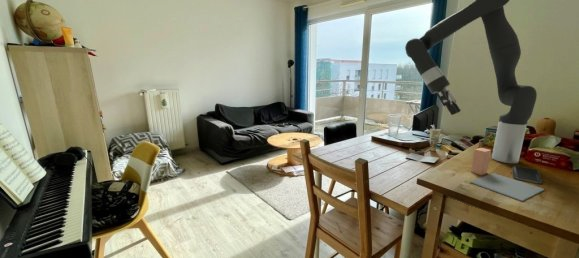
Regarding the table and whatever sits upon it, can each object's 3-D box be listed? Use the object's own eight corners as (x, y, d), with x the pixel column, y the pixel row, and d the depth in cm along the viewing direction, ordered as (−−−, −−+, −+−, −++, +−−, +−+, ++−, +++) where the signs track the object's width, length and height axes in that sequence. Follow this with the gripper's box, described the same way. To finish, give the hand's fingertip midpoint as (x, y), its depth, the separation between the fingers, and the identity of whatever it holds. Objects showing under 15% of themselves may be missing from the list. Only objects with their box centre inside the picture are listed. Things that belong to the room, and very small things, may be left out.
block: (477, 169, 102) (481, 147, 100) (486, 172, 99) (491, 150, 97) (470, 171, 100) (474, 149, 98) (480, 175, 97) (485, 151, 95)
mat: (493, 174, 98) (493, 173, 98) (544, 190, 85) (544, 189, 85) (469, 182, 91) (470, 181, 90) (522, 201, 78) (522, 200, 78)
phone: (513, 177, 93) (512, 165, 104) (512, 179, 93) (512, 167, 105) (543, 183, 88) (538, 169, 99) (542, 186, 89) (538, 172, 100)
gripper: (440, 74, 98) (463, 109, 94) (447, 75, 108) (468, 107, 105) (421, 84, 103) (443, 119, 99) (430, 85, 113) (450, 116, 110)
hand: (456, 113), depth 102 cm, fingers open, 8 cm apart
